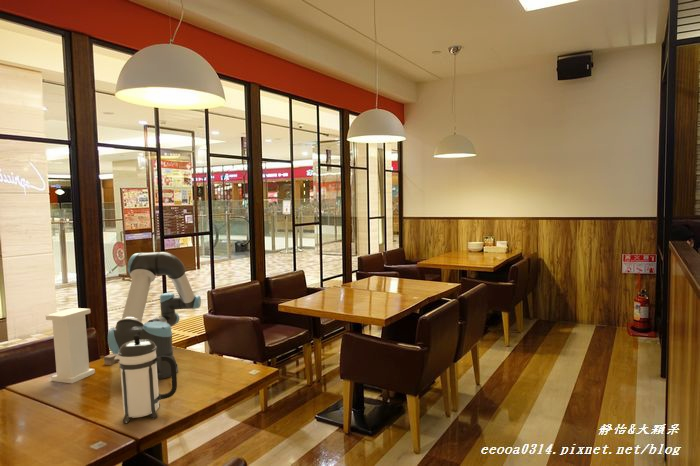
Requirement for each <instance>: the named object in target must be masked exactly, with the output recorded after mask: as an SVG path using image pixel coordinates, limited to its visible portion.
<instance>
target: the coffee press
mask: <svg viewBox="0 0 700 466" xmlns="http://www.w3.org/2000/svg"><path fill="white" fill-rule="evenodd" d="M133 339H134V340H133V341H129V342H127V343H125V344H123V345H122V346H121V347H120V350H119V351H118V354H117V355H116V357H115V358H114V359H119V360H120V361H119V362H118V365H119V369H120V381H121V382H120V384H121V396H122V409H123V414H124V417H123V419H122V423H123V424H128V423H129V422H130V420H131V419H134V418H142V417H146V416H150V417H151V419H152V420H155V419H157V418H158V414H157V410H158V409H159V408H160V406H161V404H160V400H165V399H169V398H172V396H173V397H174V395H175V394H176V392H177V388H178V377H177V373H176V365H175V362H174V360H173V359H172V358H171V357H169V356H159V357H157V355H156V349H157V346H156V345H155V343H154V342H153V341H151V340H148V339H140V336H139V335H135V336H134V338H133ZM157 361H167V362H168V363H169V364H170V366H171V376H170V377H171V389H170V391H168V392H166V393H160V391H159V379H158V377H157Z"/></svg>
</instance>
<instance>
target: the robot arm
mask: <svg viewBox="0 0 700 466" xmlns="http://www.w3.org/2000/svg"><path fill="white" fill-rule="evenodd" d="M186 270H187V269H186V267H185V265H184V263H183V262H182V260H180V258H179V257H177V256H176V255H174V254H172V253H170V252H167V251H156V252H153V251H152V252H136V253H134V254H132V255H131V256H130V258H129V259H128V263H127V273H128V275H129V276H130V279H131V283H130V286H129V290H128V293H127V298H126V300H125V304H124V305H125V306H124V310H123V312H122V316H121V319H119V320H118V321H117V322H116V324H115V327H111V328H110V329H109V330H108V332H107V333H108V334H107V345H108V348H109V350H110V352H111V354H112V353H114V354H118V351H119V350H120V347H121V346H122V345H123V344H125V343H127V342H129V341H133V340H134V339H133V338H134V336H135V335H139V336H140V339H148V340H151V341H153V342H154V343H155V345H156V346H157V349H156V355H157V357H159V356H169V357H171V358H172V359H173V360H174V362H175V365H176V374H177V373H178V372H179V366H178V363H177V361H176V358H175V356H174V347H173V332H172V327H174V326H176V325H177V324H179V321H180V316H179V314H178V312H176V310H191V309H192V310H194V309H199V308H200V307H201V305H202V304H201V303H202V299H201V296H200V295H199V294H198V295H197V294H195V293H194V291H193V289H192V287H191V284H190V281H189V279H188V277H187V275H186V272H187V271H186ZM162 275H164V276H167V278H168V279H171V282H172V283H173V285H174V287H175V291H176V292H177V294H178V295H175V294H174V293H173V292H165V293H161V294H160V296H159V297H160V300H159V301H160V302H159V305H160V315H158V317H155V318H153V319H150V320H148V321H147V322H145V323H143V322H142V320H143V317H144V313H145V309H146V304H147V300H148V296H149V291H150V287H151V283H152V282H154V281H155V279H156V276H162ZM157 377H158V380H163V379H166V378H170V377H172V376H171V366H170V364H169V363H168V362H167V361H157Z"/></svg>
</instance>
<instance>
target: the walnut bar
mask: <svg viewBox="0 0 700 466" xmlns="http://www.w3.org/2000/svg"><path fill="white" fill-rule="evenodd" d="M116 355H117V354H114V353H112V352H111V353H110V354H108V355H105V356H103V360H104V361H103V362H104V365H109V366H112V365H114V364H116V363H119V362H118V361H120V360H119V359H114V358H115V357H116Z"/></svg>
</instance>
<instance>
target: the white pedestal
mask: <svg viewBox="0 0 700 466" xmlns="http://www.w3.org/2000/svg"><path fill="white" fill-rule="evenodd" d="M91 312H92V311H91V308H85V307H84V308H81V307H73V308H72V307H71V308H68V309H64V310H61V311H57V312H53V313H50V314H46V315H45V320H46V321H51V322H52V331H53V332H52V333H53V334H52V335H53V345H54V356H55V357H54V358H55V370H56V374H54V375H52V376H50V377H51V378H50V379H51V382H59V383H66V384H75V383H76V382H79V381H81V380H83V379H85V378H87V377H89V376H90V377H91V376H92V375H94V374H96V370H95V368H90V362H89V361H90V359H89V348H88V334H87V321H86V315H89V314H91Z"/></svg>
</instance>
